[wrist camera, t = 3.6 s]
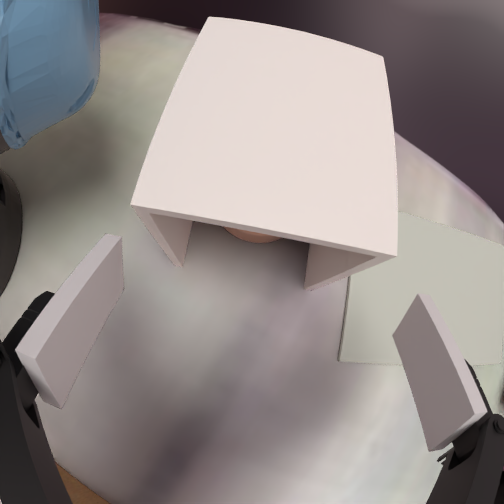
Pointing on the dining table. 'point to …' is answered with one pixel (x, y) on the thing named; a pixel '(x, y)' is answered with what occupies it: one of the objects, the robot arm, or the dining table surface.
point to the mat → (428, 293)
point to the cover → (276, 148)
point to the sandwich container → (79, 490)
